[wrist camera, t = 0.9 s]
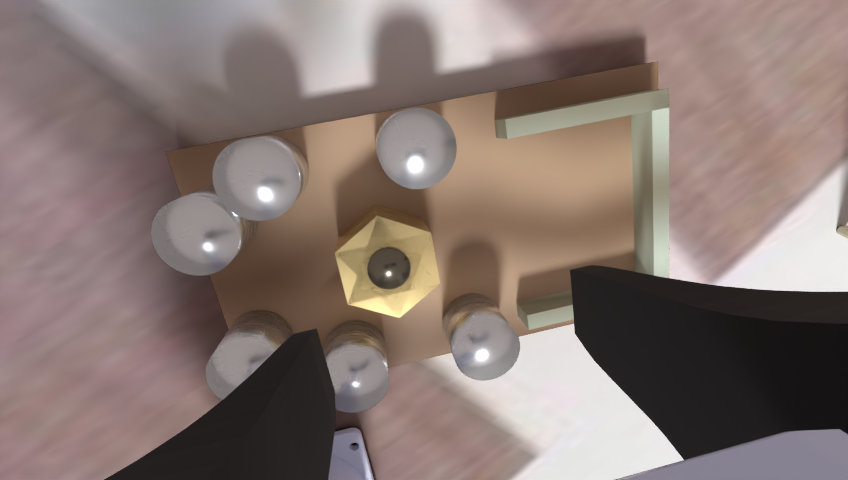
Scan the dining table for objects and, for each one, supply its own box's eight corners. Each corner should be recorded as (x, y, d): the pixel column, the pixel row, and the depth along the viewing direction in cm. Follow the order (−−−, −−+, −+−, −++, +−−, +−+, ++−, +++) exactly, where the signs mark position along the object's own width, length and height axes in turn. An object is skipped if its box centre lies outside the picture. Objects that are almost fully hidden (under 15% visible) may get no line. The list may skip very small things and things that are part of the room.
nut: (448, 249, 20) (461, 266, 18) (377, 310, 20) (379, 335, 18) (394, 187, 19) (399, 197, 16) (319, 252, 19) (313, 271, 17)
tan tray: (645, 294, 24) (679, 315, 21) (259, 385, 22) (245, 420, 19) (641, 64, 20) (682, 56, 18) (177, 149, 18) (147, 154, 16)
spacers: (502, 338, 22) (523, 371, 19) (249, 399, 21) (230, 443, 18) (469, 98, 18) (489, 93, 15) (160, 155, 17) (120, 161, 14)
